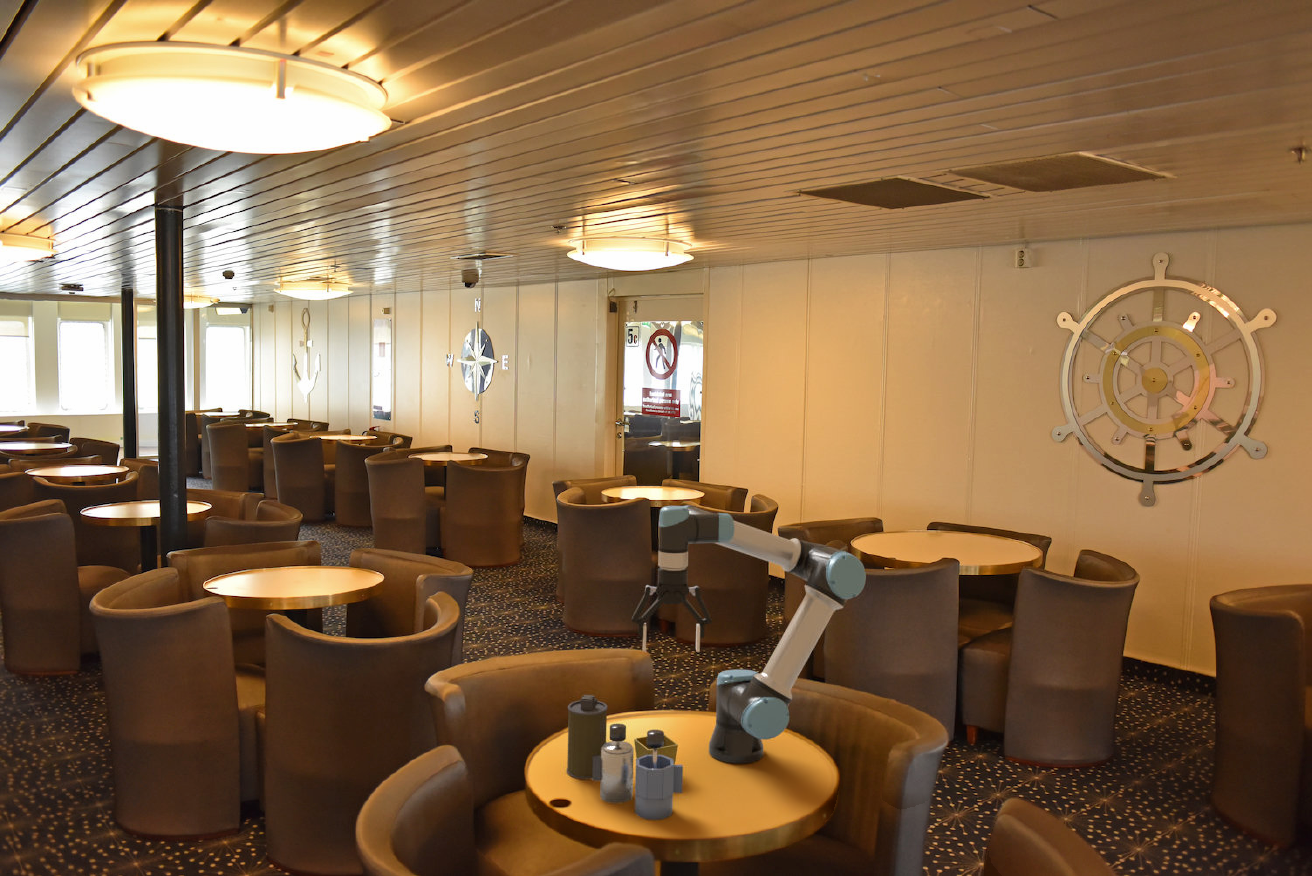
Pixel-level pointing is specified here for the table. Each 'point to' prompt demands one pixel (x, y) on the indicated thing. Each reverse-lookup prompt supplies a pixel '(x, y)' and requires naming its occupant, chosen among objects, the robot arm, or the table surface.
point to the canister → (585, 735)
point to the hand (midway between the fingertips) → (671, 650)
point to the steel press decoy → (615, 767)
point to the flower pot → (666, 750)
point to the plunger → (655, 743)
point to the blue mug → (656, 786)
